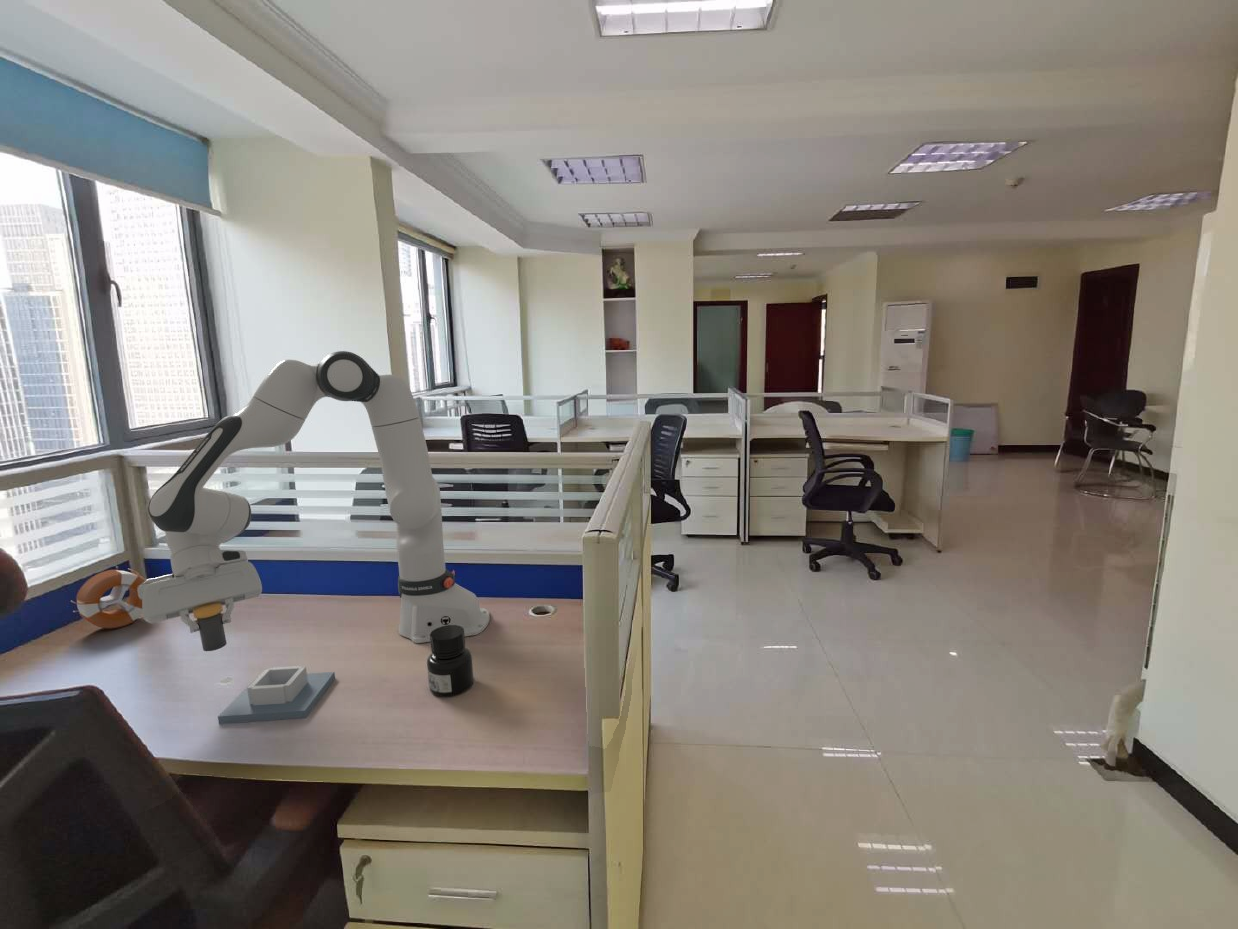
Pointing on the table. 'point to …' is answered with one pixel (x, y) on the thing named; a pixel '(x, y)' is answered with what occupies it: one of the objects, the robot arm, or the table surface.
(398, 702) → the table surface
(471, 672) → the ink bottle
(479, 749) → the table surface
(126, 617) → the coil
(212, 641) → the knob
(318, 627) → the table surface
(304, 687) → the mount
